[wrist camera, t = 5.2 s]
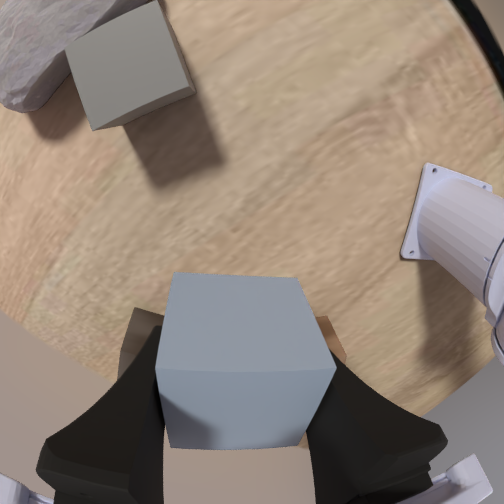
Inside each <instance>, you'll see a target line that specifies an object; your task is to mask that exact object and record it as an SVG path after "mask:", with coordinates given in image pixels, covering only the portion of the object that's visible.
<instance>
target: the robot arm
mask: <svg viewBox="0 0 504 504" xmlns="http://www.w3.org/2000/svg"><path fill="white" fill-rule="evenodd" d="M433 169H434V172H433ZM411 251H412V252H411ZM410 252H411V253H410ZM400 253H401V256H402V257H403V258H408V259H424V260H435V261H436V262H438V263H439V264H440V265H441V266H442V267H443V268H445V269H446V270H447V271H448V272H449V273H450V274H451V275H453V276H454V277H455V278H456V279H457V280H458V281H459V282H460V283H461V284H462V285H464V286H465V287H466V288H467V289H468V290H469V291H470V292H471V293H472V294H473V295H474V296H475V297H476V298H477V299H478V300H479V301H481V302H482V303H483V304H484V305H485V306H486V307H487V311H486V315H485V319H486V320H487V321H488V322H489V323H490V324H491V325H492V326H493V329H492V333H491V344H492V348H493V351H494V353H495V355H496V357H497V358H498V360H499V361H500V363H501V364H502V365H503V366H504V198H502V197H500V196H498V195H495V194H493V193H492V186H491V185H490V184H487V183H485V182H482V181H480V180H477V179H475V178H472V177H469V176H466V175H464V174H461V173H458V172H455V171H452V170H449V169H447V168H444V167H441V166H437V165H434V164H431V163H426V164H425V165H424V167H423V171H422V176H421V180H420V184H419V188H418V192H417V196H416V200H415V204H414V208H413V212H412V215H411V219H410V222H409V226H408V229H407V233H406V236H405V239H404V242H403V245H402V249H401V252H400ZM409 253H410V254H409ZM162 327H163V326H159V325H156V326H154V327H153V329H152V331H151V333H150V335H149V336H148V338H147V340H146V342H145V343H144V345H143V346H142V348H141V349H140V351H139V352H138V354H137V355H136V357H135V358H134V360H133V361H132V362H131V364H130V365H129V366H128V368H127V369H126V370H125V372H124V373H123V374H122V375H121V377H120V378H119V379H118V380H117V381H116V383H115V384H114V385H113V386H112V387H111V388H110V390H108V392H107V393H105V395H104V396H103V397H101V398H100V399H99V400H98V401H97V402H96V403H95V404H94V405H93V406H92V407H91V408H90V409H89V410H87V411H86V412H85V413H84V414H82V415H81V416H80V417H78V418H77V419H76V420H74V421H73V422H72V423H71V424H69V425H68V426H66V427H65V428H63V429H62V430H60V431H58V432H57V433H55V434H54V435H52V436H50V437H49V438H47V439H46V441H45V443H44V445H43V447H42V450H41V452H40V456H39V460H38V464H37V467H36V472H37V474H38V476H39V477H40V478H41V479H43V480H44V481H45V482H46V483H48V484H49V485H50V486H51V487H52V488H54V489H55V490H56V491H55V497H54V499H51V498H49V497H46V496H43V495H41V494H38V493H36V492H33V491H31V490H29V489H28V488H27V487H26V486H25V485H23V484H22V483H20V482H18V481H16V480H14V479H12V478H10V477H8V476H6V475H4V474H2V473H0V504H164V498H163V443H164V430H165V420H164V415H163V410H162V405H161V400H160V394H159V388H158V382H157V376H156V370H155V366H156V360H157V354H158V348H159V343H160V337H161V332H162ZM328 349H329V348H328ZM329 351H330V353H331V356H332V358H333V360H334V362H335V365H336V367H337V368H336V371H335V373H334V375H333V377H332V379H331V381H330V383H329V386H328V388H327V390H326V392H325V394H324V396H323V398H322V400H321V402H320V404H319V406H318V408H317V410H316V412H315V414H314V416H313V418H312V420H311V422H310V423H309V425H308V427H307V429H306V434H307V438H308V444H309V450H310V456H311V462H312V469H313V477H314V486H315V497H316V504H477V503H479V502H480V501H482V500H483V499H484V498H486V497H487V496H488V495H490V494H491V493H492V492H493V489H492V487H491V485H490V483H489V481H488V479H487V477H486V475H485V473H484V471H483V469H482V467H481V465H480V463H479V462H478V460H477V458H476V456H475V454H471V455H469V456H467V457H466V458H464V459H462V460H460V461H458V462H457V463H455V464H454V465H452V466H451V467H450V468H448V469H447V470H446V472H444V473H442V474H440V475H438V476H436V477H434V478H432V479H431V478H430V476H429V474H428V471H429V470H431V467H430V465H429V462H430V461H431V460H432V459H433V458H434V457H436V456H437V455H438V454H439V453H440V452H441V451H442V450H443V449H444V448H445V447H446V445H447V443H448V440H447V438H446V436H445V434H444V432H443V431H442V429H441V427H440V426H439V425H438V424H436V423H433V422H431V421H428V420H425V419H423V418H421V417H418V416H416V415H414V414H412V413H410V412H408V411H406V410H404V409H402V408H401V407H399V406H397V405H395V404H394V403H392V402H391V401H389V400H387V399H386V398H384V397H383V396H381V395H380V394H378V393H377V392H376V391H374V390H373V389H372V388H370V387H369V386H368V385H367V384H365V383H364V382H363V381H362V380H361V379H359V378H358V377H357V376H356V375H355V374H354V373H353V372H352V371H351V370H350V369H349V368H347V367H346V366H345V365H344V364H343V363H342V362H341V361H340V360H339V358H338V357H337V356H336V355H335V354H334V353H333V352H332V351H331V350H330V349H329Z"/></svg>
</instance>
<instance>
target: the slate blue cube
mask: <svg viewBox="0 0 504 504" xmlns="http://www.w3.org/2000/svg"><path fill="white" fill-rule="evenodd" d="M336 368H337V367H336V365H335V362H334V360H333V358H332V356H331V353H330V351H329V349H328V346H327V344H326V342H325V339H324V337H323V335H322V332H321V330H320V328H319V326H318V323H317V321H316V319H315V317H314V314H313V312H312V310H311V308H310V305H309V303H308V301H307V299H306V297H305V294H304V292H303V290H302V288H301V285H300V283H299V281H298V279H297V278H284V277H260V276H238V275H218V274H200V273H183V272H174V274H173V278H172V283H171V287H170V292H169V297H168V301H167V306H166V311H165V316H164V321H163V327H162V332H161V337H160V343H159V348H158V354H157V360H156V366H155V370H156V376H157V382H158V388H159V394H160V400H161V405H162V410H163V415H164V420H165V425H166V430H167V434H168V439H169V443H170V447H171V448H182V449H204V450H237V449H238V450H239V449H240V450H241V449H263V448H277V447H288V446H297V445H298V444H299V442H300V440H301V438H302V436H303V435H304V433H305V431H306V429H307V427H308V425H309V423H310V422H311V420H312V418H313V416H314V414H315V412H316V410H317V408H318V406H319V404H320V402H321V400H322V398H323V396H324V394H325V392H326V390H327V388H328V386H329V383H330V381H331V379H332V377H333V375H334V373H335V371H336Z"/></svg>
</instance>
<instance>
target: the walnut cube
mask: <svg viewBox="0 0 504 504" xmlns="http://www.w3.org/2000/svg"><path fill="white" fill-rule="evenodd" d="M315 319H316V321H317V323H318V326H319V328H320V330H321V332H322V335H323V337H324V339H325V342H326V344H327V346H328V348H329V349H330V350H331V351H332V352H333V353H334V354H335V355H336V356H337V357H338V358H339V360H340V361H341V362H342V363H343V364H344V365H345V361H346V357H347V356H346V353H345V351H344V349H343V347H342V345H341V343H340V341H339V339H338V337H337V335H336V333H335V331H334V329H333V327H332V325H331V323H330V321H329V319H328V317H327V316H322V317H315Z"/></svg>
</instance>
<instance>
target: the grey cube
mask: <svg viewBox="0 0 504 504" xmlns="http://www.w3.org/2000/svg"><path fill="white" fill-rule="evenodd" d="M64 48H65V52H66V55H67V59H68V62H69V65H70V68H71V72H72V75H73V78H74V81H75V84H76V87H77V90H78V93H79V96H80V99H81V102H82V105H83V107H84V110H85V113H86V116H87V118H88V121H89V124H90V126H91V129H92V131H95V130H100V129H105V128H110V127H116V126H122V125H124V124H126V123H128V122H130V121H132V120H134V119H137V118H139V117H141V116H143V115H145V114H147V113H150V112H152V111H154V110H156V109H159V108H161V107H163V106H166V105H168V104H170V103H173V102H175V101H178V100H180V99H183V98H185V97H188V96H191V95H193V94H196V91H195V88H194V85H193V82H192V80H191V77H190V74H189V72H188V69H187V66H186V64H185V61H184V58H183V55H182V53H181V50H180V47H179V45H178V42H177V39H176V37H175V34H174V31H173V29H172V26H171V24H170V22H169V20H168V19H167V17H166V15H165V13H164V11H163V9H162V8H161V6H160V4H159V2H158V0H155V1H152V2H150V3H148V4H145V5H143V6H140V7H138V8H136V9H134V10H131V11H129V12H127V13H125V14H123V15H121V16H119V17H117V18H115V19H113V20H111V21H109V22H107V23H105V24H103V25H101V26H99V27H98V28H96V29H94V30H92V31H91V32H89V33H87V34H85V35H84V36H82V37H80V38H79V39H77V40H75V41H74V42H72V43H71V44H69V45H67V46H66V47H64Z"/></svg>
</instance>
